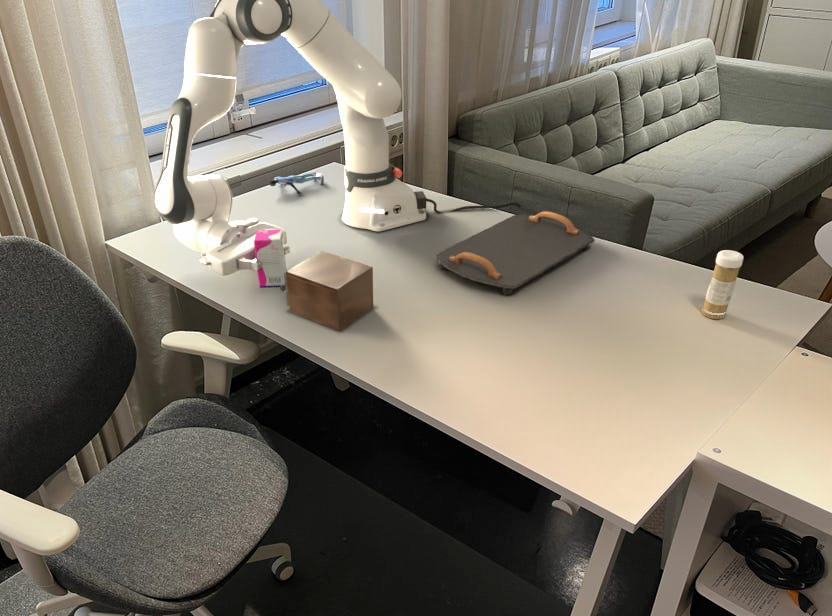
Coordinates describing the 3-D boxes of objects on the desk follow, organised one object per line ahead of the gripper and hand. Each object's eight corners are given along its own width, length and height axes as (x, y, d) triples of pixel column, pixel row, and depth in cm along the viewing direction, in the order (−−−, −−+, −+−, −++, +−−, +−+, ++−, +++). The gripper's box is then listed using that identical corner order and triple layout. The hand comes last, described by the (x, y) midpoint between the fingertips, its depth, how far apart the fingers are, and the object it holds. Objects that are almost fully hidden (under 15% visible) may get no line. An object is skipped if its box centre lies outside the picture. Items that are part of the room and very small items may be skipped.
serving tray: (522, 220, 185) (524, 197, 181) (602, 245, 171) (606, 221, 167) (423, 270, 164) (424, 246, 160) (505, 304, 149) (508, 278, 146)
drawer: (273, 300, 153) (270, 267, 148) (305, 281, 159) (302, 249, 155) (332, 322, 144) (330, 289, 140) (363, 301, 151) (362, 269, 146)
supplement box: (287, 275, 160) (283, 228, 154) (285, 287, 155) (280, 240, 149) (261, 275, 160) (256, 229, 154) (258, 288, 155) (253, 240, 149)
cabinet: (289, 311, 150) (285, 271, 145) (324, 289, 157) (321, 250, 152) (339, 331, 143) (337, 289, 138) (373, 307, 150) (372, 266, 145)
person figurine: (311, 182, 217) (259, 188, 207) (311, 168, 215) (259, 173, 205) (331, 192, 210) (278, 199, 200) (332, 177, 207) (279, 183, 198)
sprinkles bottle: (712, 306, 146) (729, 247, 138) (730, 316, 142) (749, 256, 135) (695, 312, 144) (712, 252, 137) (714, 322, 141) (732, 261, 133)
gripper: (192, 246, 153) (237, 263, 146) (258, 215, 166) (303, 229, 159) (197, 272, 156) (241, 290, 149) (261, 239, 169) (305, 254, 162)
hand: (273, 258), depth 154 cm, fingers closed on supplement box, 8 cm apart
